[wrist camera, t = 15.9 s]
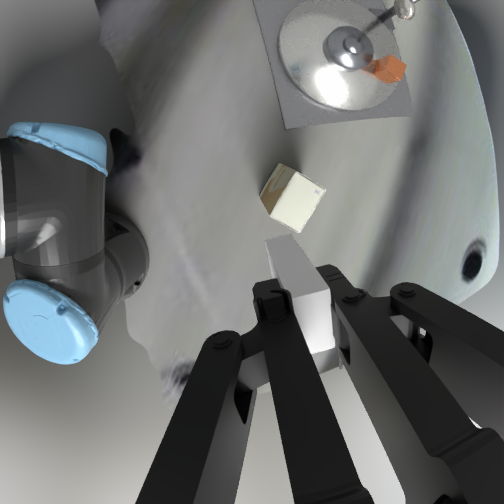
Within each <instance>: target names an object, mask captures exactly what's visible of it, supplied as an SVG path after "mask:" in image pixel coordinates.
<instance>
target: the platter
mask: <svg viewBox="0 0 504 504" xmlns="http://www.w3.org/2000/svg"><path fill="white" fill-rule="evenodd" d="M340 26H351V27H354V28H357V29H359V30H360V31H362V32H363V33H364V34H365V35H366V36H367V37H368V38H369V39H370V41H371V43H372V45H373V49H374V56H373V59H372V61H371V62H370V63H369V64H368V65H367V66H365V67H363V68H361V69H359V70H357V71H354V72H344V71H340V70H338V69H336V68H335V67H333V66H332V65H331V64H330V63H329V62H328V61H327V59H326V58H325V56H324V53H323V42H324V40H325V38H326V37H327V36H328V35H329V34H330V33H331V32H332V31H333V30H334V29H336V28H338V27H340ZM278 45H279V53H280V57H281V60H282V63H283V65H284V68H285V69H286V71H287V73H288V75H289V76H290V77H291V79H292V80H293V82H294V83H295V84H296V85H297V86H298V87H299V88H300V89H301V90H302V91H303V92H304V93H306V94H307V95H308V96H310V97H311V98H313V99H314V100H316V101H318V102H320V103H322V104H324V105H326V106H329V107H332V108H335V109H340V110H349V111H354V110H362V109H367V108H371V107H374V106H376V105H378V104H380V103H382V102H383V101H384V100H386V99H387V98H388V97H389V96H390V95H391V94H392V92H393V91H394V89H395V88H396V86H397V83H398V81H400V80H402V77H403V74H404V71H405V68H406V64H404V63H403V62H401V61H400V55H399V51H398V47H397V45H396V42H395V40H394V38H393V36H392V35H391V33H390V32H389V30H388V29H387V27H386V26H385V25H384V24H383V23H382V21H381V20H379V19H378V18H377V17H376V16H375V15H374V14H373V13H371V12H370V11H369V10H367V9H365V8H364V7H362V6H360V5H358V4H356V3H354V2H351V1H348V0H308V1H305V2H303V3H301V4H299V5H298V6H296V7H295V8H294V9H293V10H292V11H291V12H290V13H289V14H288V16H287V17H286V19H285V20H284V22H283V24H282V27H281V29H280V33H279V42H278Z"/></svg>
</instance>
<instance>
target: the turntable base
mask: <svg viewBox="0 0 504 504" xmlns="http://www.w3.org/2000/svg"><path fill="white" fill-rule="evenodd" d="M305 1H308V0H253V4H254V7H255V11H256V14H257V18H258V21H259V25H260V28H261V32H262V36H263V39H264V43H265V47H266V51H267V55H268V59H269V63H270V67H271V71H272V75H273V79H274V83H275V87H276V91H277V96H278V100H279V104H280V109H281V113H282V118H283V122H284V127H285V130H286V129H292V128H299V127H305V126H312V125H319V124H326V123H334V122H343V121H352V120H362V119H373V118H387V117H404V116H413V110H412V105H411V100H410V95H409V90H408V85H407V81H406V77H405V73H404V74H403V77H402V80H400V81H398V83H397V86H396V88H395V89H394V91H393V92H392V94H391V95H390V96H389V97H388V98H387V99H386V100H384V101H383V102H382V103H380V104H378V105H376V106H374V107H371V108H367V109H362V110H354V111H349V110H340V109H335V108H332V107H329V106H326V105H324V104H322V103H320V102H318V101H316V100H314V99H313V98H311V97H310V96H308V95H307V94H306V93H304V92H303V91H302V90H301V89H300V88H299V87H298V86H297V85H296V84H295V83H294V82H293V80H292V79H291V77H290V76H289V75H288V73H287V71H286V69H285V68H284V65H283V63H282V60H281V57H280V53H279V45H278V42H279V33H280V29H281V27H282V24H283V22H284V20H285V19H286V17H287V16H288V14H289V13H290V12H291V11H292V10H293V9H294V8H295V7H296V6H298V5H299V4H301V3H303V2H305ZM348 1H351V2H354V3H356V4H358V5H360V6H362V7H364V8H365V9H367V10H369V8H373V9H382V10H385V7H384V5H383V2H382V0H348ZM369 11H370V10H369ZM387 29H388V28H387ZM388 30H389V32H390V33H391V35H392V36H393V38H394V40H395V37H394V33H393V30H392V29H388ZM395 42H396V40H395ZM396 45H397V43H396ZM398 51H399V50H398ZM399 55H400V54H399ZM400 61H401V57H400ZM401 62H402V61H401Z"/></svg>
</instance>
